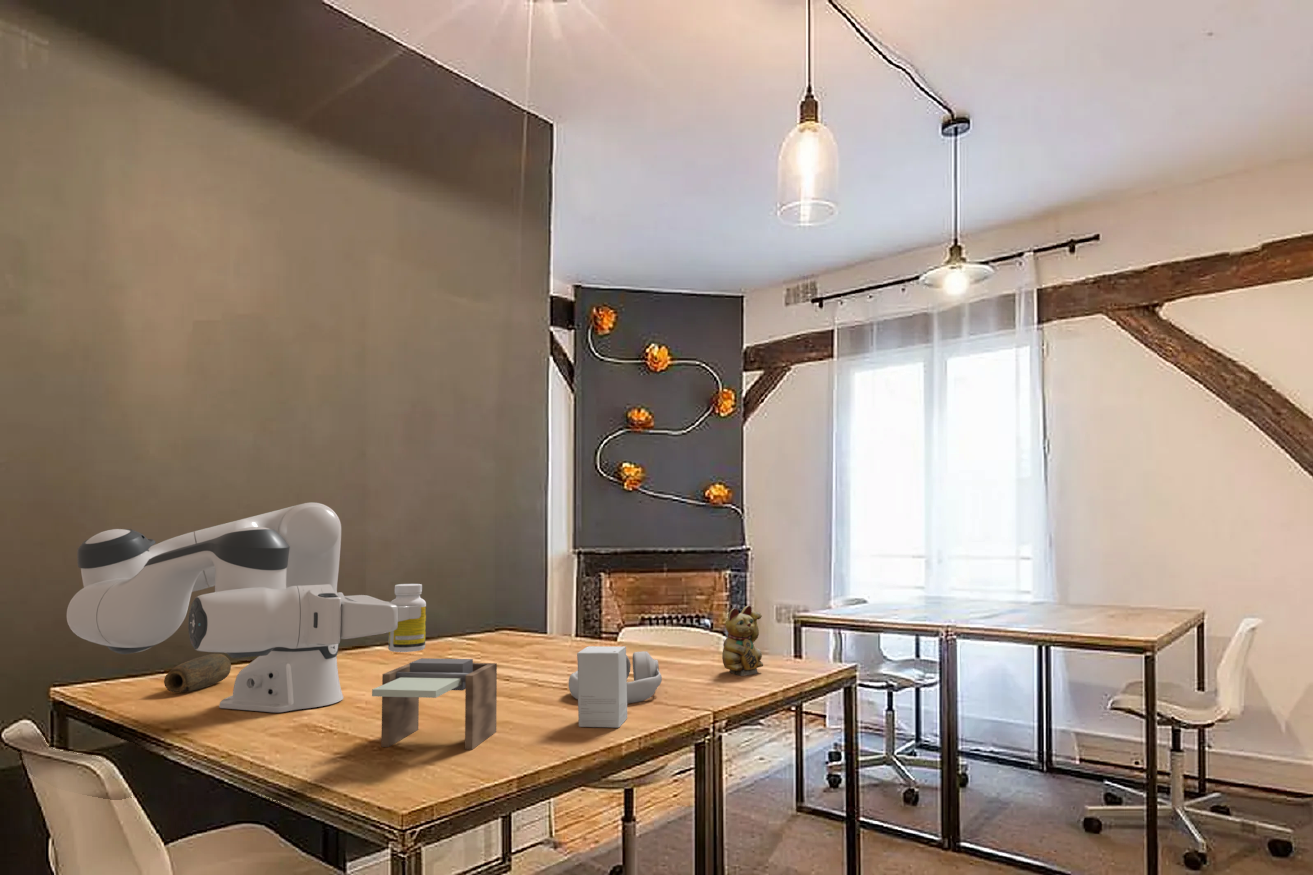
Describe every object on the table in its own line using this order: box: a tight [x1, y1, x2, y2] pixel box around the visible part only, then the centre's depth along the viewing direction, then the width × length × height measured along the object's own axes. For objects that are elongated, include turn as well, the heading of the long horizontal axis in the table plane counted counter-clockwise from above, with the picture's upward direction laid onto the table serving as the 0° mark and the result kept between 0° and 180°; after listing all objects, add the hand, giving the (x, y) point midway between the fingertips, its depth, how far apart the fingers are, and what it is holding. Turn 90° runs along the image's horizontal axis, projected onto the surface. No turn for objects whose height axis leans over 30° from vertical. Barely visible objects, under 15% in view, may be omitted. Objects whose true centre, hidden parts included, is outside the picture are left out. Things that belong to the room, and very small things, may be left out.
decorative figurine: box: [721, 605, 764, 676], centre depth 194 cm, size 10×8×15 cm
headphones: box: [568, 651, 663, 705], centre depth 173 cm, size 18×8×20 cm
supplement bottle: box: [387, 583, 427, 653], centre depth 130 cm, size 5×5×10 cm
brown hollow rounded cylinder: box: [163, 653, 232, 693], centre depth 184 cm, size 15×7×7 cm, turn 176°
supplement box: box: [576, 645, 628, 729], centre depth 149 cm, size 7×7×13 cm
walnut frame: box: [380, 662, 498, 751], centre depth 140 cm, size 11×15×11 cm
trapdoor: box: [371, 657, 474, 699], centre depth 134 cm, size 16×12×4 cm
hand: (413, 609), depth 131 cm, fingers closed on supplement bottle, 5 cm apart
